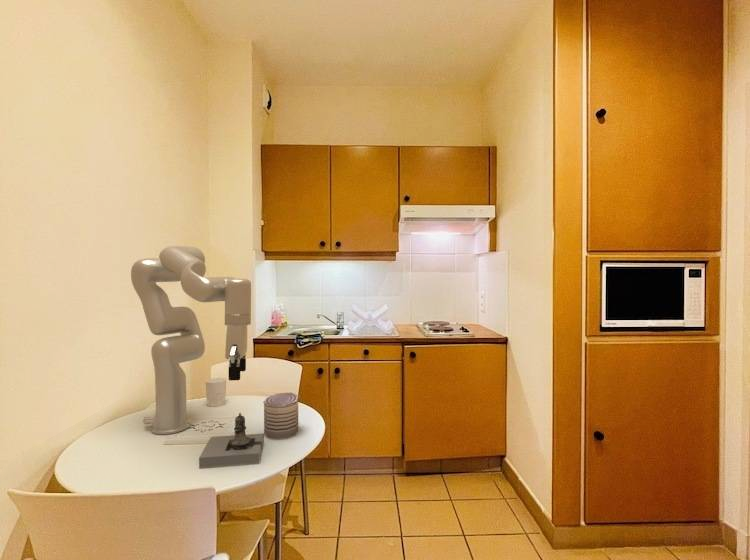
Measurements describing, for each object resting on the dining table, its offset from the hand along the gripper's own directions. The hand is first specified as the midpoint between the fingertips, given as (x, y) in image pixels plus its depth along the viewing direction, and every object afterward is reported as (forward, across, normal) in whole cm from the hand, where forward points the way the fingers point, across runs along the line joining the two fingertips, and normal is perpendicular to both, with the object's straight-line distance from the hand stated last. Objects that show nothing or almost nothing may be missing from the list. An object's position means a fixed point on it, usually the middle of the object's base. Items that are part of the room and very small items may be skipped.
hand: (237, 375), depth 123 cm
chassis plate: (+23, +4, 0) cm, 23 cm away
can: (+23, -11, +12) cm, 28 cm away
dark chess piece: (+23, +4, +2) cm, 23 cm away
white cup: (+24, -44, -16) cm, 53 cm away
